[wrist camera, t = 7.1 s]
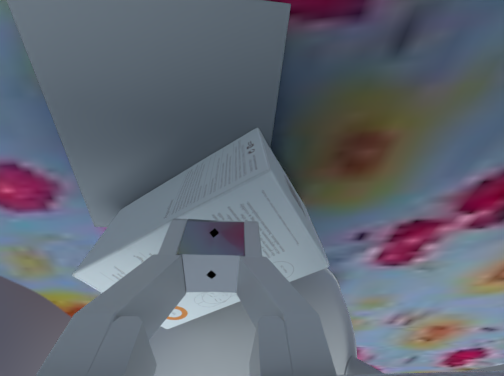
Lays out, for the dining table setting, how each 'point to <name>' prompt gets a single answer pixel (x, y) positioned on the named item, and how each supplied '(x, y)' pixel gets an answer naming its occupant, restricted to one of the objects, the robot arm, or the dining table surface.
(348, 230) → the dining table surface
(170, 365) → the kettle
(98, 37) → the mat
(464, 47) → the dining table surface
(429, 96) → the dining table surface
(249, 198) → the small box
